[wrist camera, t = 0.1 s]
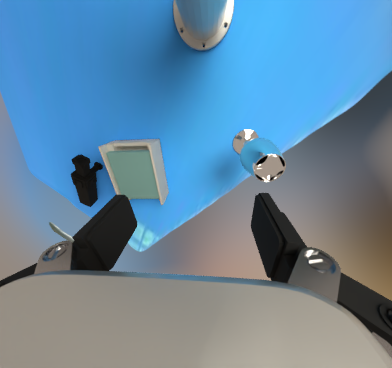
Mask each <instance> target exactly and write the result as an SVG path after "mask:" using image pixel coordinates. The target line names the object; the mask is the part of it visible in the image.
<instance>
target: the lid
mask: <svg viewBox="0 0 392 368" xmlns="http://www.w3.org/2000/svg"><path fill="white" fill-rule="evenodd" d="M106 154H107V157H108V160H109V162H110V165H111V168H112V170H113V173H114V176H115V179H116V181H117V184H118V187H119V189H120V192H121V195H126V196H127V197H128V199H160V197H159V193H158V188H157V184H156V179H155V174H154V170H153V165H152V160H151V156H150V151H149V150H125V151H109V152H107V153H106Z"/></svg>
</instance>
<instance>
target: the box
mask: <svg viewBox="0 0 392 368" xmlns="http://www.w3.org/2000/svg"><path fill="white" fill-rule="evenodd" d="M98 148H99V150H100V153H101V155H102V158H103V160H104V163H105V166H106V168H107V171H108V173H109V176H110V178H111V181H112V184H113V186H114V189H115V191H116V194H117V195H121V192H120V189H119V187H118V184H117V181H116V179H115V176H114V173H113V170H112V168H111V165H110V162H109V160H108V157H107V154H106V153H107V152H109V151H125V150H149V151H150V156H151V160H152V165H153V170H154V174H155V179H156V184H157V188H158V193H159V197H160V199H159V200H160V202H161V205H163V204H164V202H165V199H166V197H167V195H168V193H169V191H168V185H167V180H166V174H165V168H164V162H163V157H162V151H161V145H160V139H141V140H115V141H112V142H109V143H107V144H104V145H102V146H99V147H98ZM129 200H131V199H129Z"/></svg>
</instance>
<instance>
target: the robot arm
mask: <svg viewBox="0 0 392 368" xmlns="http://www.w3.org/2000/svg"><path fill="white" fill-rule="evenodd" d="M233 10H234V0H174V2H173V14H174V20H175V24H176V27H177V30H178V32H179V34H180V36H181V38H182V39H183V41H184V42H185V43H186V44H187V45H188V46H189V47H191V48H193V49H195V50H199V51H205V50H209V49H211V48H213V47H215V46H216V45H217V44H219V43H220V42H221V40H222V39H223V38H224V36H225V35H226V33H227V31H228V29H229V26H230V24H231V20H232V16H233ZM224 26H226V28H224ZM182 30H183V33H181V31H182ZM203 45H205V47H203ZM136 227H137V221H136V218H135V215H134V213H133V210H132V207H131V204H130V201H129V199H128V197H127V196H126V195H115V196H114V197H113V198H112V199H111V200H110V201H109V202H108V203H107V204H106V205H105V206H104V207H103V208H102V209H101V210H100V211H99V212H98V213H97V214H96V215H95V216H94V217H93V218H92V219H91V220H90V221H89V222H88V223H87V224H86V225H84V226H83V227H82V228H81V229H80V230H79V231H78V232H77V233H76V234H75V235H74V236H73V237H72V238H73V239H74V240H75V241H74V242H73V243H72V242H70V241H62V242H59V243H57V244H55V245H53V246H51V247H50V248H48V249H47V250H46V251H44V252H43V253H42V255H41V256H40V258H39V260H38V263H36V264H34V265H32V266H30V267H28V268H26V269H24V270H22V271H20V272H17V273H15V274H13V275H11V276H9V277H7V278H5V279H3V280H1V281H0V368H392V301H391V300H389V299H387V298H385V297H384V296H382V295H380V294H378V293H377V292H375V291H373V290H371V289H369V288H368V287H366V286H364V285H362V284H361V283H359V282H357V281H355V280H353V279H352V278H350V277H348V276H346V275H345V274H343V273H341V269H340V266H339V264H338V263H337V262H336V261H335V259H334V258H332V257H331V256H330V255H329V254H327V253H325V252H324V251H322V250H319V249H316V248H312V247H307V246H306V245H305V243H304V242H303V241H302V239H301V237H300V236H299V234H298V233H297V232H296V230H295V228H294V227H293V225H292V224H291V223H290V221H289V220H288V218H287V217H286V215H285V214H284V213H283V212H280V210H279V209H278V207H277V205H276V204H275V202H274V201H273V199H272V198H271V196H270V195H269V194H268V193H259V194H258V195H256V196H255V203H254V208H253V215H252V221H251V229H252V232H253V235H254V238H255V241H256V244H257V247H258V250H259V253H260V256H261V259H262V262H263V265H264V268H265V272H266V274H267V277H268V278H271V280H272V281H267V280H257V279H244V278H231V277H213V276H195V275H177V274H176V275H175V274H157V273H137V272H115V271H109V270H110V269H112V268H113V266H114V265H115V263H116V261H117V259H118V258H119V256H120V255H121V253H122V251H123V249H124V247H125V246H126V244H127V243H128V241H129V239H130V238H131V236H132V234H133V233H134V231H135V229H136Z"/></svg>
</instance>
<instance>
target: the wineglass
mask: <svg viewBox="0 0 392 368" xmlns="http://www.w3.org/2000/svg"><path fill="white" fill-rule="evenodd" d="M233 148H234V150H235V151H236V152H237V153H239V154H240V161H241V164H242V166H243V167H244V169H245V170H246V171H247V172H248V173H250V174H251V175H252V176H254V177H255V178H257V179H258V180H260V181H263V182H270V181H274V180H276V179H278V178H279V177H280V176H281V175H282V174H283V173H284V171H285V168H286V162H285V160H284V158H283V156H282V154H281V152H280V150H279V149H278V147H277V146H276V145H275V144H274V143H273V142H272V141H270V140H268V139H265V138H259V137H258V135H257V133H256V132H255V131H253V130H250V129H245V130H242V131H240V132H239V133H238V134H237V135H236V136H235V137H234V140H233Z"/></svg>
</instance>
